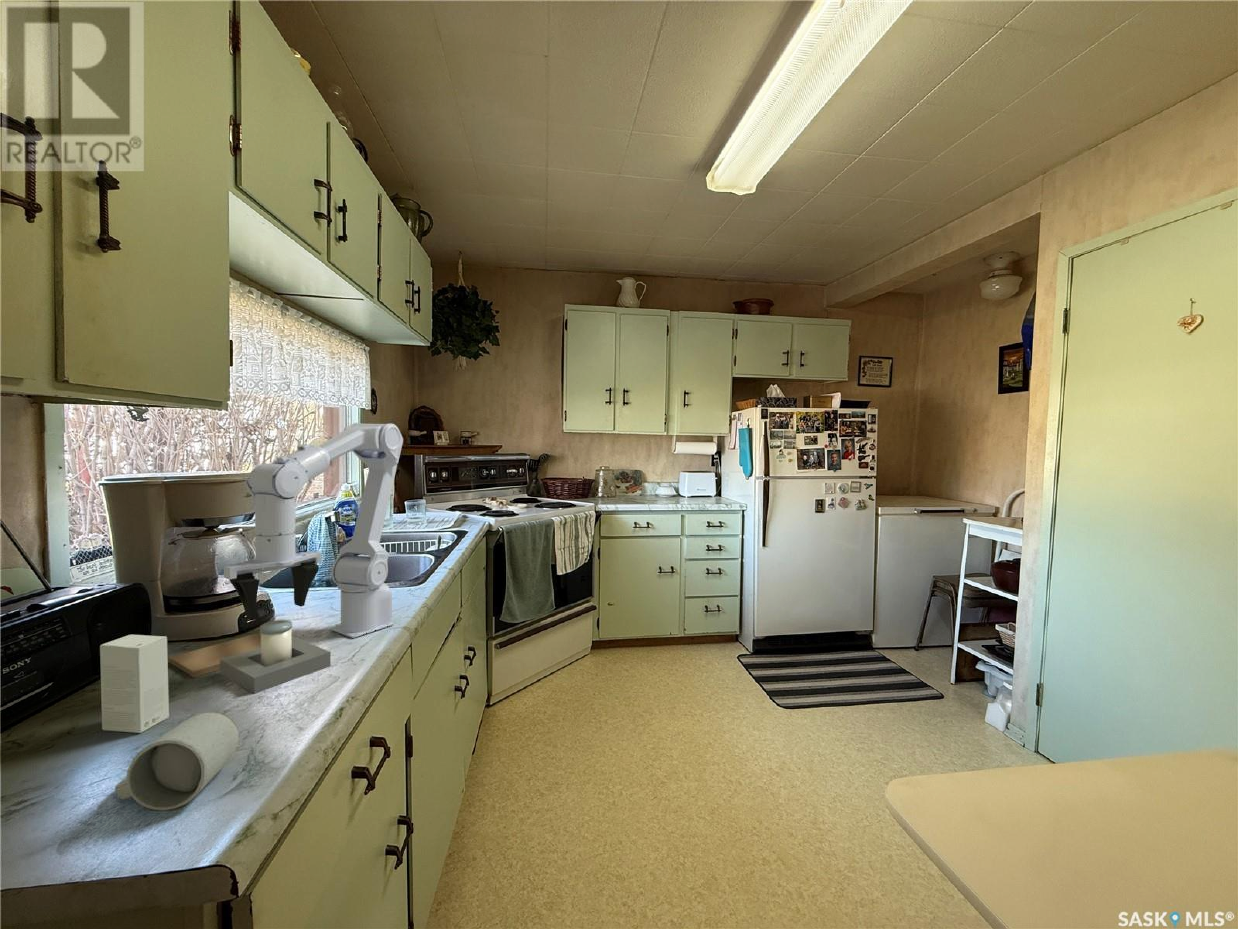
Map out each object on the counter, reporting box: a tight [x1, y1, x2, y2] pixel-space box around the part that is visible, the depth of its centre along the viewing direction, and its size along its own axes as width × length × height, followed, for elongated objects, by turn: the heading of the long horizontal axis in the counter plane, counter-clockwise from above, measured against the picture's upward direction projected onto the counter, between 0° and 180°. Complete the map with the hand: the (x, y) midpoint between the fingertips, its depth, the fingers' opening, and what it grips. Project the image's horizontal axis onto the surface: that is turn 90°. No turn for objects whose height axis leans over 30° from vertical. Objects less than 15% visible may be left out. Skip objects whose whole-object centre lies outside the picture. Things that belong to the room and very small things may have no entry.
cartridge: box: [259, 619, 293, 667], centre depth 88 cm, size 5×5×8 cm
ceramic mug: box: [114, 711, 240, 811], centre depth 59 cm, size 11×8×8 cm
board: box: [169, 632, 261, 678], centre depth 94 cm, size 14×10×1 cm
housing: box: [219, 636, 331, 694], centre depth 89 cm, size 12×12×2 cm
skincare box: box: [99, 634, 170, 734], centre depth 71 cm, size 6×4×12 cm
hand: (276, 611), depth 88 cm, fingers open, 7 cm apart
